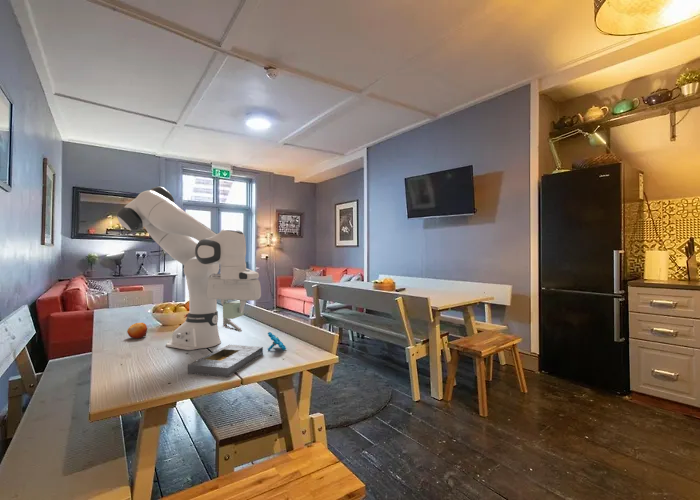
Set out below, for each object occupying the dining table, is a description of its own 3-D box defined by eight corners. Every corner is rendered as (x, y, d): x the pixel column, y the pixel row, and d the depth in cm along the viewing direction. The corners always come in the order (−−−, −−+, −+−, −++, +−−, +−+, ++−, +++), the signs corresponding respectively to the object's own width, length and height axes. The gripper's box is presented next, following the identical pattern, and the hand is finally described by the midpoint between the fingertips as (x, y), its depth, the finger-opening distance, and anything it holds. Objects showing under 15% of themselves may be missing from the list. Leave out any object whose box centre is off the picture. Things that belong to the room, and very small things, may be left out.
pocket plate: (188, 373, 113) (188, 364, 113) (229, 352, 137) (229, 344, 137) (227, 377, 110) (227, 368, 110) (262, 354, 133) (262, 347, 133)
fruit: (154, 333, 162) (145, 320, 159) (139, 344, 157) (130, 332, 153) (146, 330, 167) (137, 318, 163) (131, 342, 161) (121, 329, 157)
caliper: (223, 325, 185) (222, 314, 185) (224, 325, 186) (224, 313, 186) (240, 332, 171) (240, 319, 170) (242, 331, 171) (242, 319, 171)
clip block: (222, 318, 118) (222, 304, 118) (234, 314, 125) (234, 301, 125) (233, 318, 117) (232, 304, 117) (243, 314, 124) (243, 301, 124)
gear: (286, 349, 135) (268, 332, 134) (276, 360, 133) (258, 343, 133) (288, 345, 145) (271, 329, 145) (278, 355, 144) (261, 339, 144)
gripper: (202, 274, 121) (203, 312, 121) (254, 274, 116) (254, 315, 116) (213, 272, 127) (214, 309, 127) (263, 273, 122) (263, 311, 122)
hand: (233, 312), depth 121 cm, fingers closed on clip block, 4 cm apart
